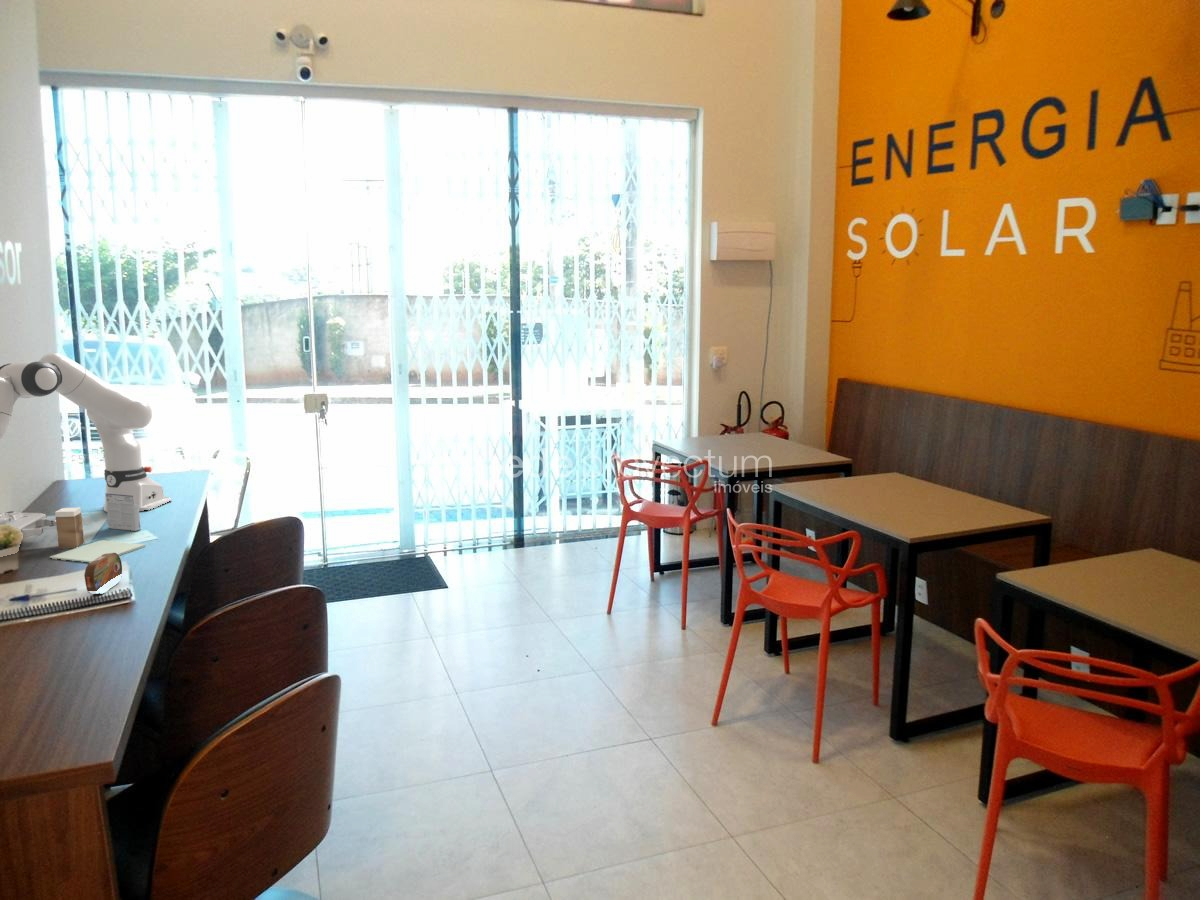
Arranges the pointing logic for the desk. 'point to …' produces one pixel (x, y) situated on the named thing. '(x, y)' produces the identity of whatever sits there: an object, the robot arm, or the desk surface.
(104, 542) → the sage mat
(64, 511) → the walnut block
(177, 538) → the desk surface
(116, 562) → the tin
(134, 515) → the ink box
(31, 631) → the desk surface
